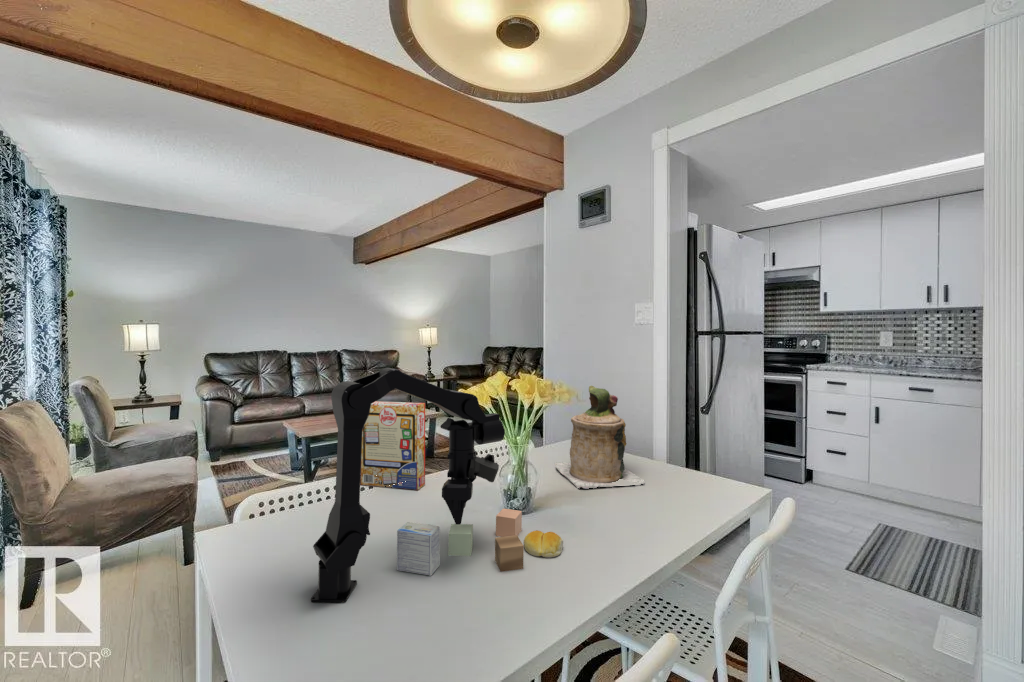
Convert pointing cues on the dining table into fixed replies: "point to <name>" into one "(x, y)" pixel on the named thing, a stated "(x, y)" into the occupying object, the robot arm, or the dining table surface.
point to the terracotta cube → (508, 523)
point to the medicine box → (418, 548)
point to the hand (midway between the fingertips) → (460, 515)
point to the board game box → (394, 445)
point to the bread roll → (543, 544)
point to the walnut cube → (509, 553)
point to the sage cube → (460, 540)
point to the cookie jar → (598, 445)
